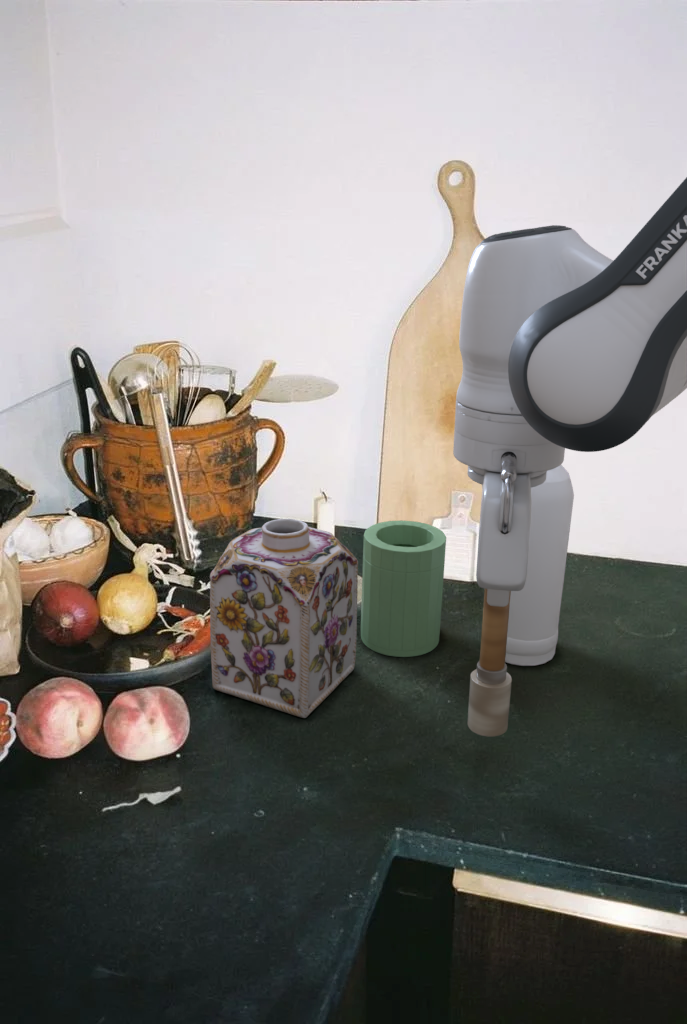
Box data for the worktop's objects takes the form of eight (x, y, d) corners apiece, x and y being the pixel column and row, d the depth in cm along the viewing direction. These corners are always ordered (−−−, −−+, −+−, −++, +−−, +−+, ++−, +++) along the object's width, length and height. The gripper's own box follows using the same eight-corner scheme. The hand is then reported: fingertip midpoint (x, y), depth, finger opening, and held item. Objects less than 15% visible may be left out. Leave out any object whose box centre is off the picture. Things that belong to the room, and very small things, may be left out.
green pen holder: (441, 623, 114) (448, 524, 109) (435, 661, 105) (443, 555, 100) (366, 615, 115) (370, 517, 110) (355, 652, 107) (358, 547, 102)
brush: (507, 716, 86) (523, 532, 79) (507, 738, 82) (523, 548, 76) (468, 712, 86) (480, 529, 80) (466, 734, 83) (479, 545, 77)
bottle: (509, 672, 103) (536, 408, 92) (472, 640, 110) (493, 390, 99) (569, 659, 106) (602, 401, 95) (530, 628, 113) (556, 384, 102)
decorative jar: (305, 722, 93) (307, 557, 87) (208, 691, 98) (203, 533, 92) (358, 668, 103) (363, 516, 97) (268, 643, 108) (267, 496, 102)
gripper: (555, 480, 65) (538, 656, 70) (545, 408, 84) (533, 550, 89) (463, 474, 66) (453, 648, 71) (474, 404, 85) (465, 545, 90)
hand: (497, 593), depth 80 cm, fingers closed on brush, 2 cm apart
